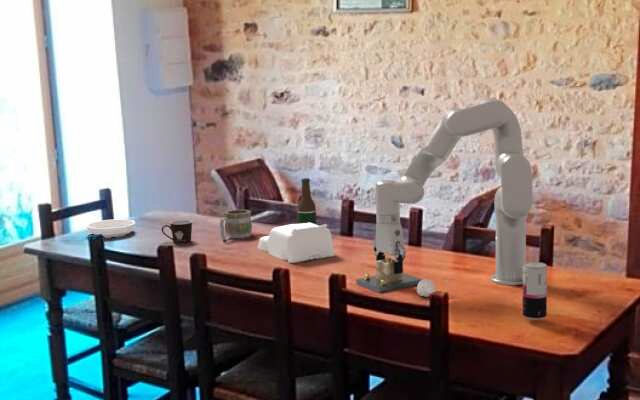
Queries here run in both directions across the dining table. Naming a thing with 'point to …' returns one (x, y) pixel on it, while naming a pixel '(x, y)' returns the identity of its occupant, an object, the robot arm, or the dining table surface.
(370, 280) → the pin plate
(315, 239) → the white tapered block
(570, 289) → the dining table surface
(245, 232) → the mug
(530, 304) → the beverage can
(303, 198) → the beer bottle
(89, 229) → the bowl
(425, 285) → the garlic bulb
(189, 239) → the coffee mug
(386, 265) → the beige patterned cube
